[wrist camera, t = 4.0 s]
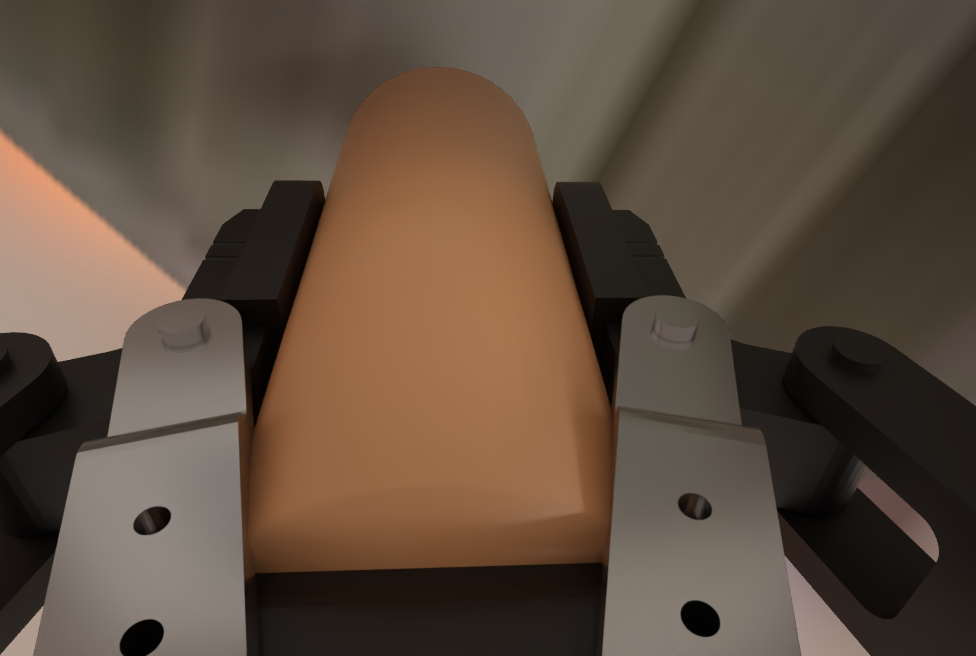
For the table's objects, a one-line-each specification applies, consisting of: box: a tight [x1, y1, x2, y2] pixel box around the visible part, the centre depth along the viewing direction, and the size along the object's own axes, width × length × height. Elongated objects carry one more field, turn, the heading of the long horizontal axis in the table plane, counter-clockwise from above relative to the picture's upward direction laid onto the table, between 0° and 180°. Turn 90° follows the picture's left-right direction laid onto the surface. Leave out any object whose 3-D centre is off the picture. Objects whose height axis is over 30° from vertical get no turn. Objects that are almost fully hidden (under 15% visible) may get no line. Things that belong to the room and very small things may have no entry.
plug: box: [248, 67, 612, 573], centre depth 10 cm, size 4×4×10 cm
